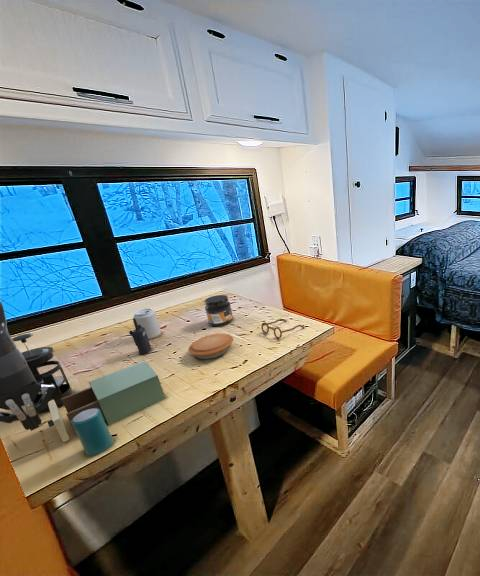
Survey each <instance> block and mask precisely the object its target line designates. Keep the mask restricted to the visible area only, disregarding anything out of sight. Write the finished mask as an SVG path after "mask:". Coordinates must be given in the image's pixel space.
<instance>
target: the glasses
mask: <svg viewBox="0 0 480 576" xmlns="http://www.w3.org/2000/svg"><path fill="white" fill-rule="evenodd" d="M280 321H282V322H287V320H286V319H284V318H279V319H277V320H275V321H271V322H262V323H261V331H262V333H264V334H268V333H269V331H270V330H273V335H274V337H275V338H276V339H278V340H279V339H281V338H282V336H283V333H286V332H287V333H288V332H290V331H294V330H295V329H297V328H299V327H300V328H302V329H304V328H305V326H303V325H301V324H298V325H295V326H294V327H292V328H288V329H285V330H282V329H281V328H280V327H278V326H277V327H272V326H269V325H272V324H276V323H278V322H280ZM264 326H266V328H267V329H266V331H265V329H264ZM276 330H278V331H279V336H278V335H277V334H276Z"/></svg>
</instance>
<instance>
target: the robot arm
mask: <svg viewBox="0 0 480 576" xmlns="http://www.w3.org/2000/svg"><path fill="white" fill-rule="evenodd" d="M7 324H8V321H7V318H6V313H5V309H4V305H3V303H2V300H0V409H1V410H4V411H0V423H6V424H11V423H13V422H20V423H21V425H22V426H23V428H24V430H26V431H28V430H29V431H31V432H32V431H35V430H36V429H39V428H40V425H41V426H42V423H43V422H42V419H41V417H40V415H39V413H38V412H39V411H41V410H44V409H45V408H46V406H47V404H48V402H49V401H50V400H51V399H52V398H51V397H52V395H53V394H54V392H55V390H56V388H55V385H54V384H49V385H41V383H40V382H38V381H36V380H35V378H34V376H33V374H32V372H31V370H30V368H29V366H28V364H27V362H26V360H25V358H24V357H23V355H22V351H20V349H19V348H18V346H17V345H16V342H15V341H13V339H12V338H13V337H12V335H11V333H10V332H9V329H8V325H7ZM40 390H42V394H43V395H42V397H41V399H40V401H39V402H38V404H37V405H36V406H34V404H33V401H34V400H35V399H36V397H37V395H38V393H39V391H40ZM23 407H25V409H26V411H27V412H26V411H25V409H24V408H23ZM5 411H11V412H5Z"/></svg>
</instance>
